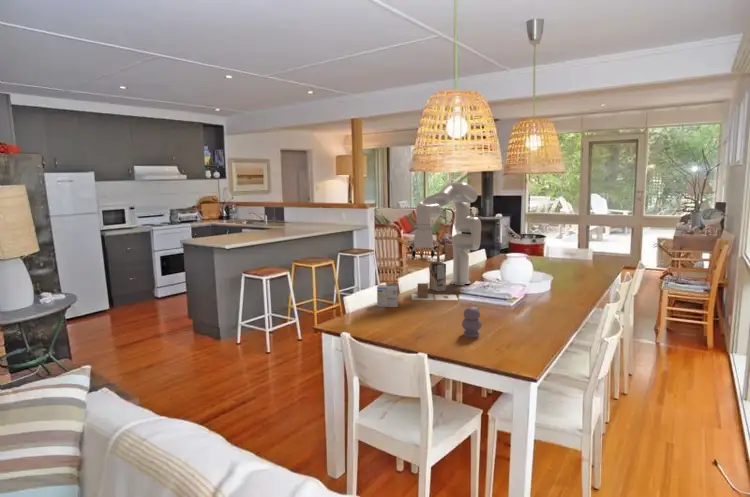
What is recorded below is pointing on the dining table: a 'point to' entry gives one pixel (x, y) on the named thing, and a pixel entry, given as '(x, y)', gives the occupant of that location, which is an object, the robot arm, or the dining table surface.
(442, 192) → the robot arm
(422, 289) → the walnut block
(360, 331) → the dining table surface
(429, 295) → the sage mat
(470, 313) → the cat figurine
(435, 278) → the coffee box
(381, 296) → the light bulb box
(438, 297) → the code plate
